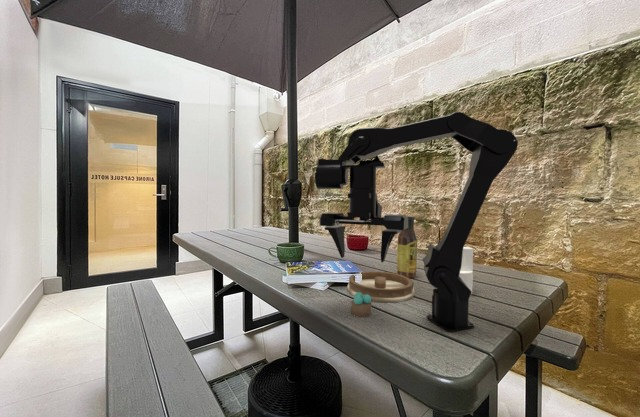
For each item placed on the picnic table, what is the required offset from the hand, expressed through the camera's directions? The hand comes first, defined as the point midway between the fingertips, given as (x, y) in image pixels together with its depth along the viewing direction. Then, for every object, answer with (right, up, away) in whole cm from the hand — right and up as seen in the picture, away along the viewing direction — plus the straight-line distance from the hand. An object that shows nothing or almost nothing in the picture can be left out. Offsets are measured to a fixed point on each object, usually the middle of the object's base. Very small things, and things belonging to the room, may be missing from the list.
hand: (362, 259), depth 60 cm
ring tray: (+7, -11, +15) cm, 21 cm away
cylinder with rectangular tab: (+28, -12, +16) cm, 35 cm away
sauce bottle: (+19, -11, +30) cm, 37 cm away
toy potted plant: (0, -12, 0) cm, 12 cm away
